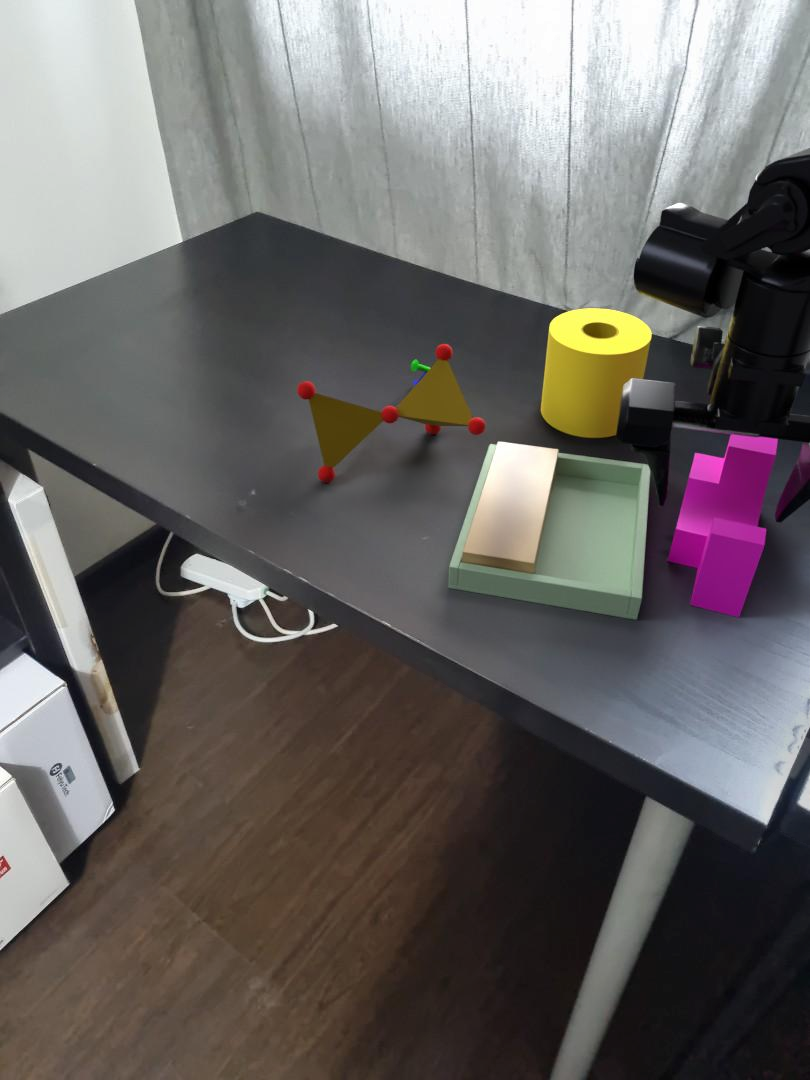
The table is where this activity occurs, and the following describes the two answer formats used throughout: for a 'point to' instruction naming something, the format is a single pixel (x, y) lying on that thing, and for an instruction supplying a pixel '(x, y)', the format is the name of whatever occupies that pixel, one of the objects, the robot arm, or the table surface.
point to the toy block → (724, 522)
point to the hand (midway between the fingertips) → (718, 510)
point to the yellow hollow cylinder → (591, 369)
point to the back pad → (512, 508)
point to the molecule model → (389, 412)
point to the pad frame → (575, 541)
